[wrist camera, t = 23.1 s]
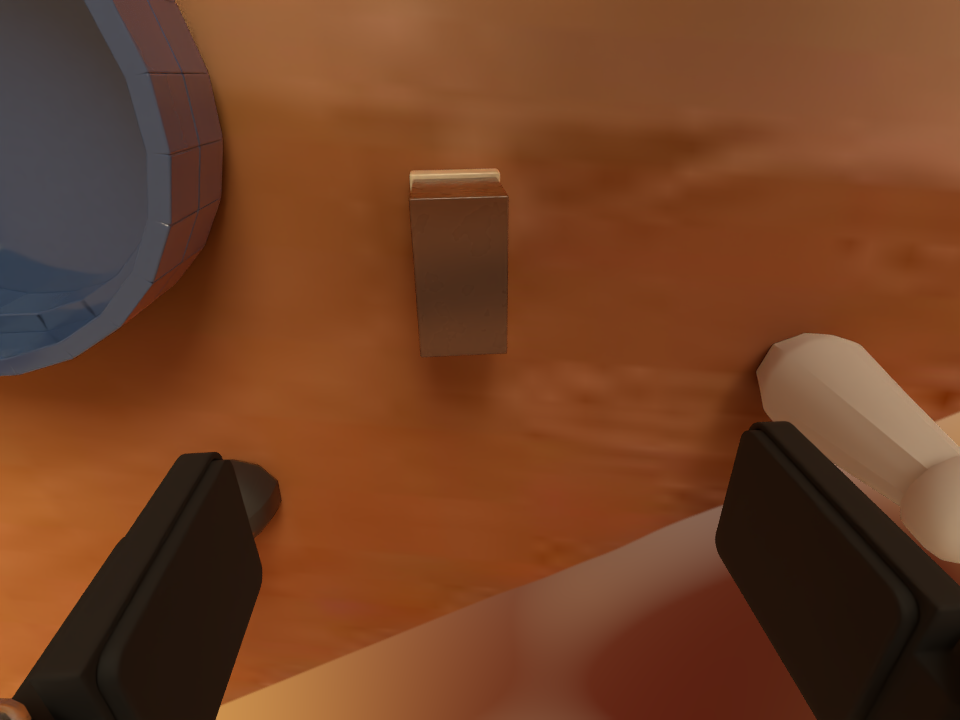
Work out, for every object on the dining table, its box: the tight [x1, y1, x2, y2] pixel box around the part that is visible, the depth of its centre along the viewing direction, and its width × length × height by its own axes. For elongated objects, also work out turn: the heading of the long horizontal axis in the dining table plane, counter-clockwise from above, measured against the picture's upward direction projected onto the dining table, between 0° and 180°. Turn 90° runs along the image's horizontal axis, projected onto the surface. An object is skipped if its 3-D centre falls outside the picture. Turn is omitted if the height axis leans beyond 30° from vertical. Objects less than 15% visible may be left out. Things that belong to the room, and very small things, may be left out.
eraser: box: [409, 168, 509, 357], centre depth 24 cm, size 7×4×6 cm, turn 1°
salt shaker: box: [756, 333, 960, 563], centre depth 25 cm, size 6×6×13 cm
